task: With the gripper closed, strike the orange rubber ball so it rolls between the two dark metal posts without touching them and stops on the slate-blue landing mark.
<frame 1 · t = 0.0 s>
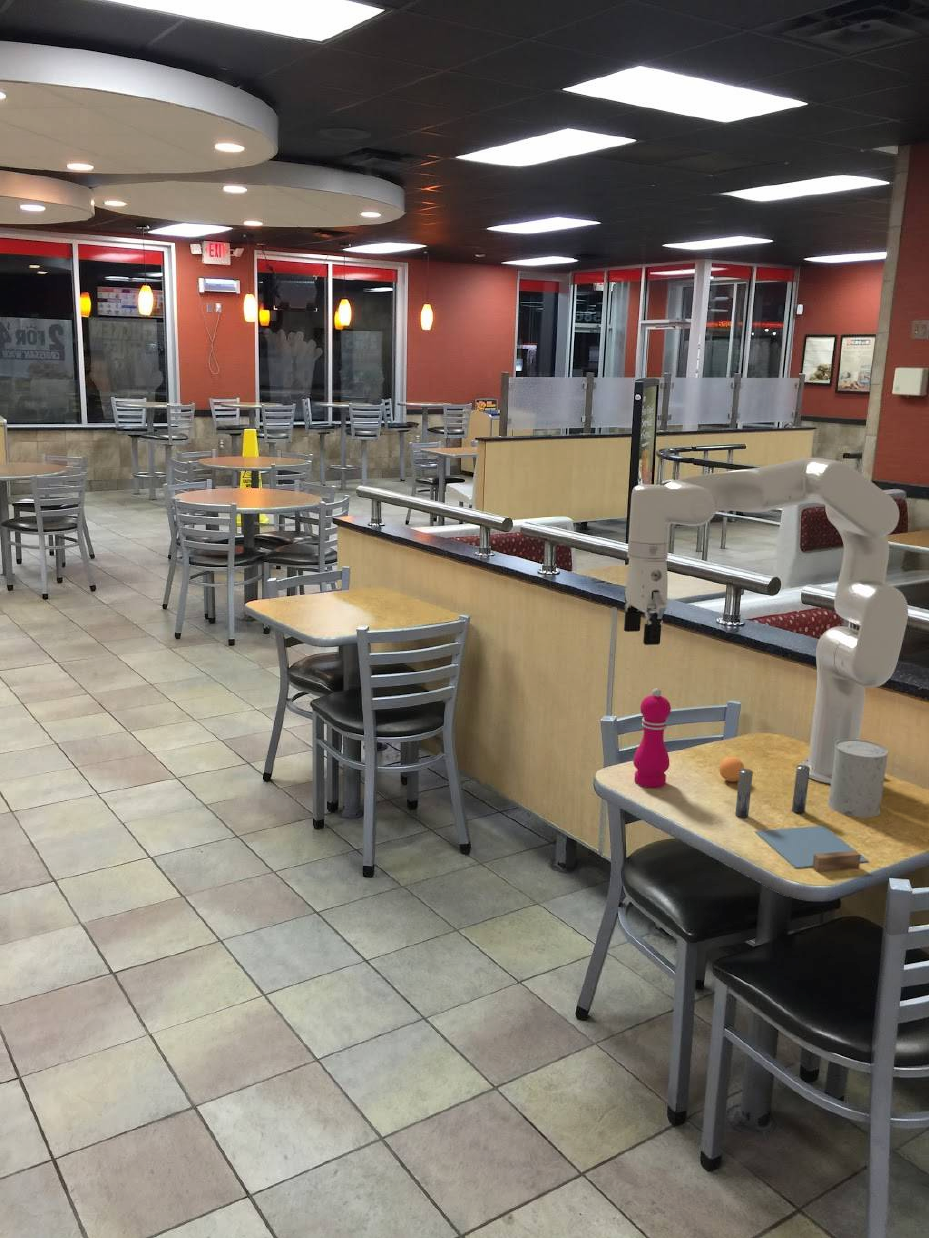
hand: (641, 637, 196), 31 cm above the table, tool pointing down, fingers open, 9 cm apart
ball: (731, 769, 208), on the table
pepper mill: (649, 782, 207), on the table
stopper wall: (835, 867, 173), on the table
speckled stone cylinder: (853, 808, 198), on the table
post 2: (798, 811, 195), on the table
landing mark: (810, 846, 181), on the table
post 1: (741, 815, 192), on the table
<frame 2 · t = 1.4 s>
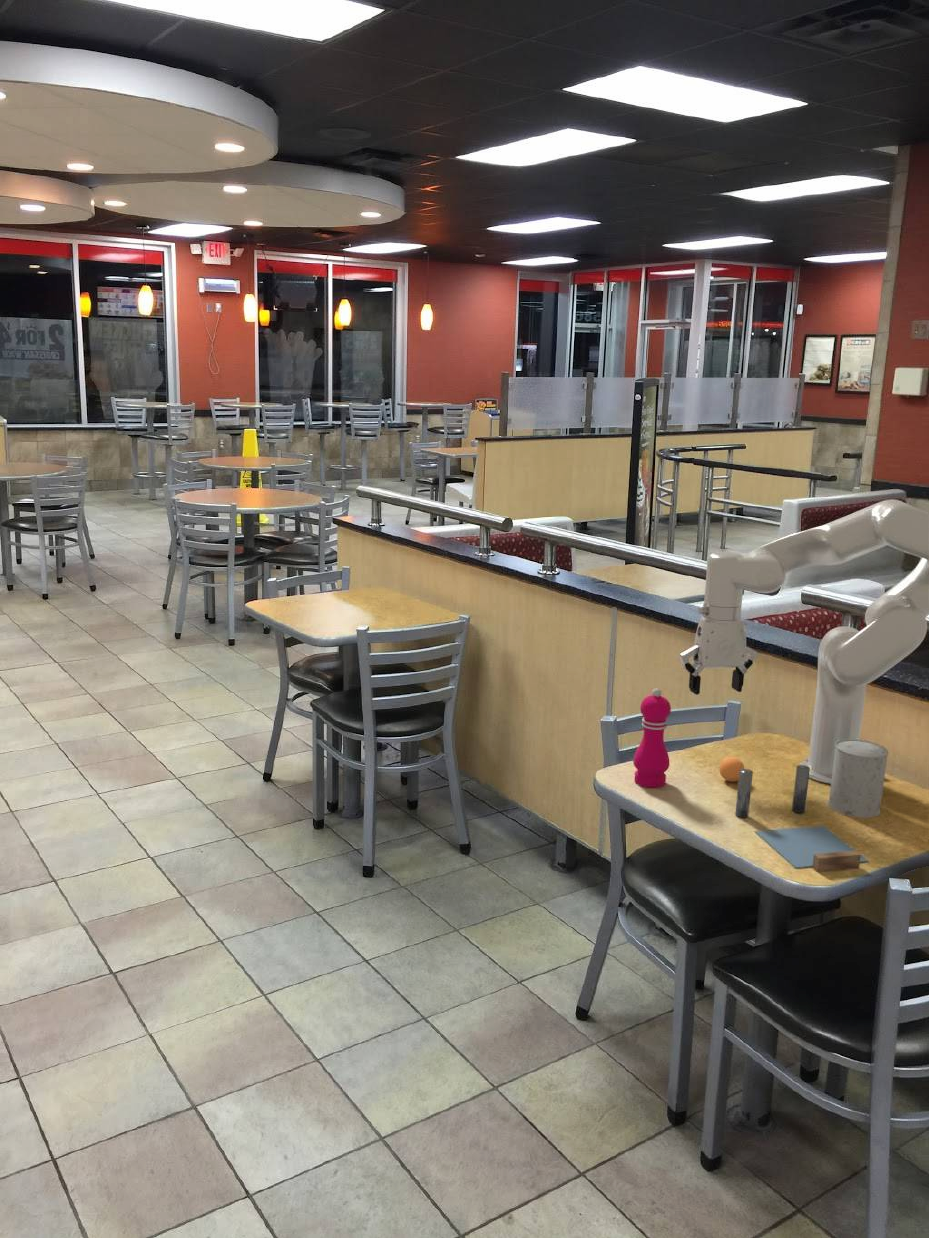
hand: (715, 691, 214), 16 cm above the table, tool pointing down, fingers open, 9 cm apart
nothing on the table moved.
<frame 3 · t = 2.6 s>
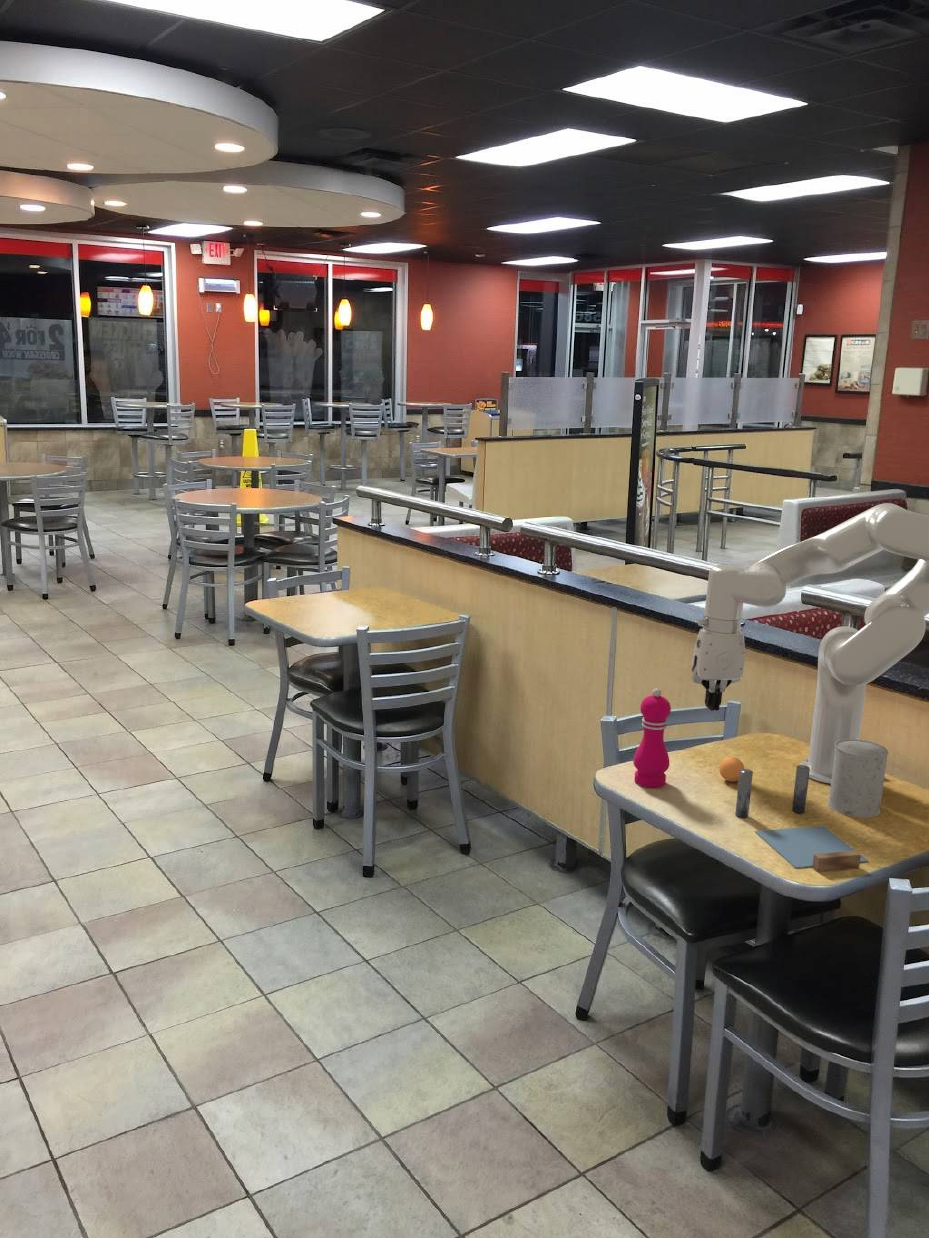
hand: (712, 708, 215), 12 cm above the table, tool pointing down, fingers closed
nothing on the table moved.
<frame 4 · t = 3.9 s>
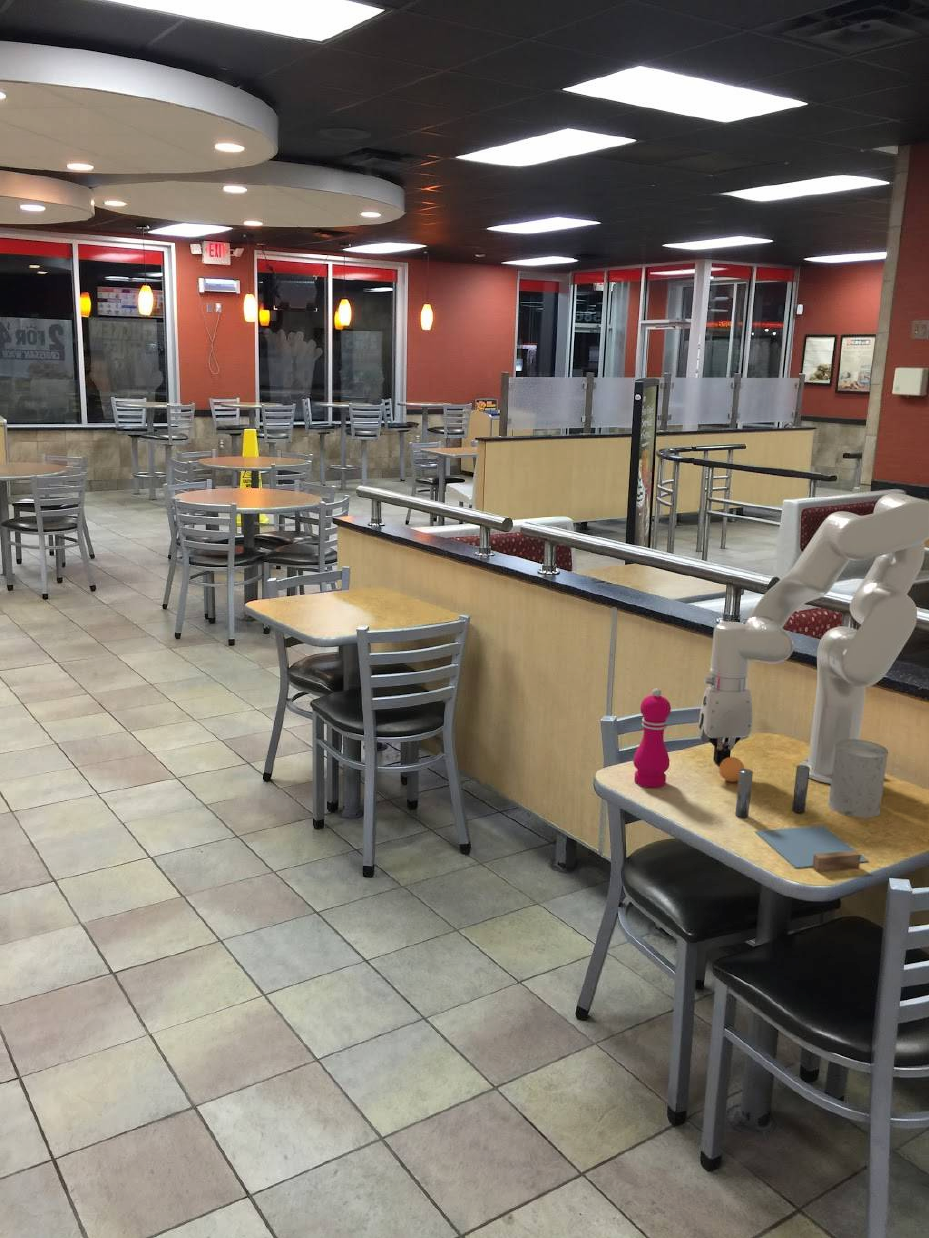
hand: (721, 765, 213), 1 cm above the table, tool pointing down, fingers closed
nothing on the table moved.
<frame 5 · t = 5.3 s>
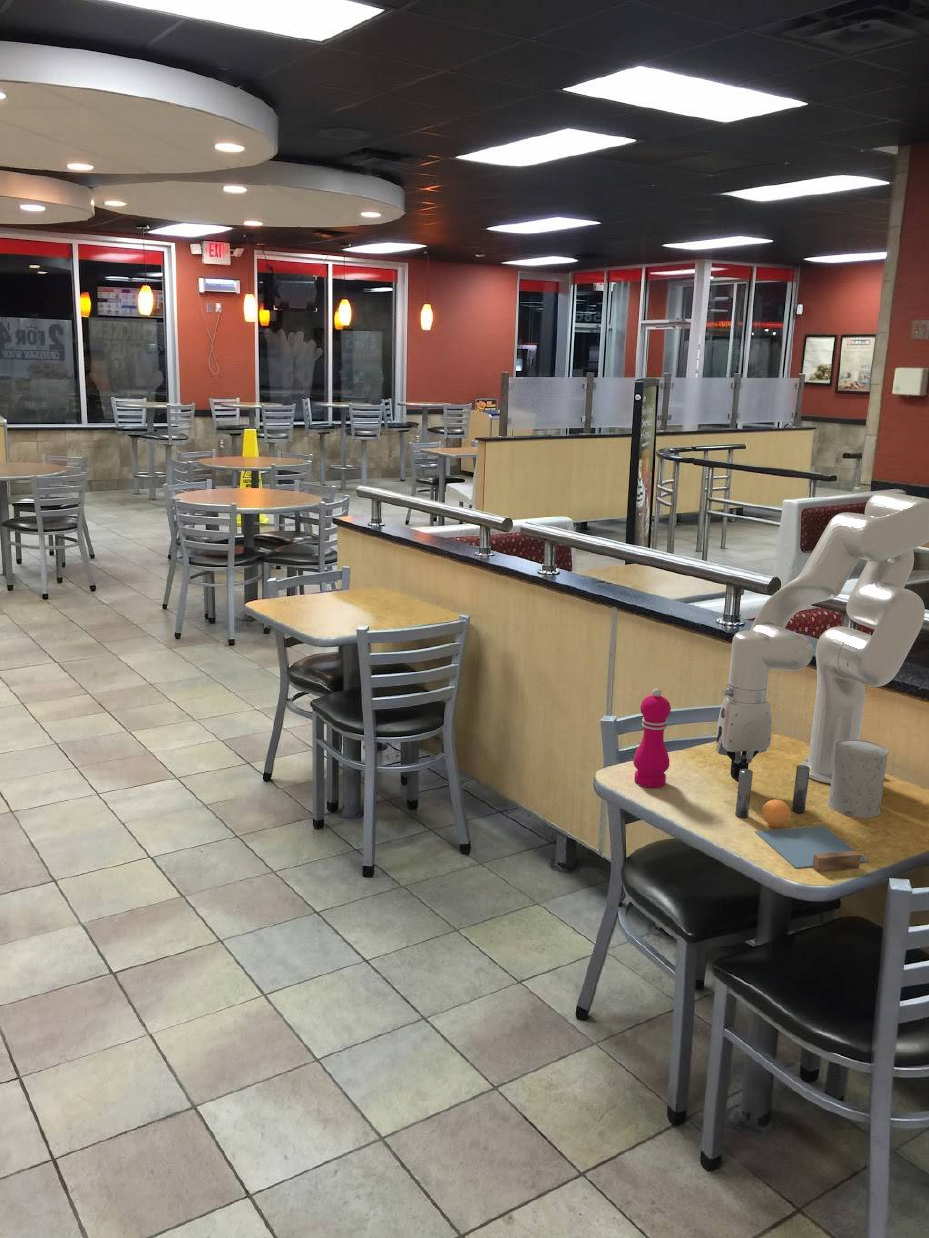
hand: (738, 779, 206), 2 cm above the table, tool pointing down, fingers closed
ball: (776, 813, 188), on the table
everything else where it was.
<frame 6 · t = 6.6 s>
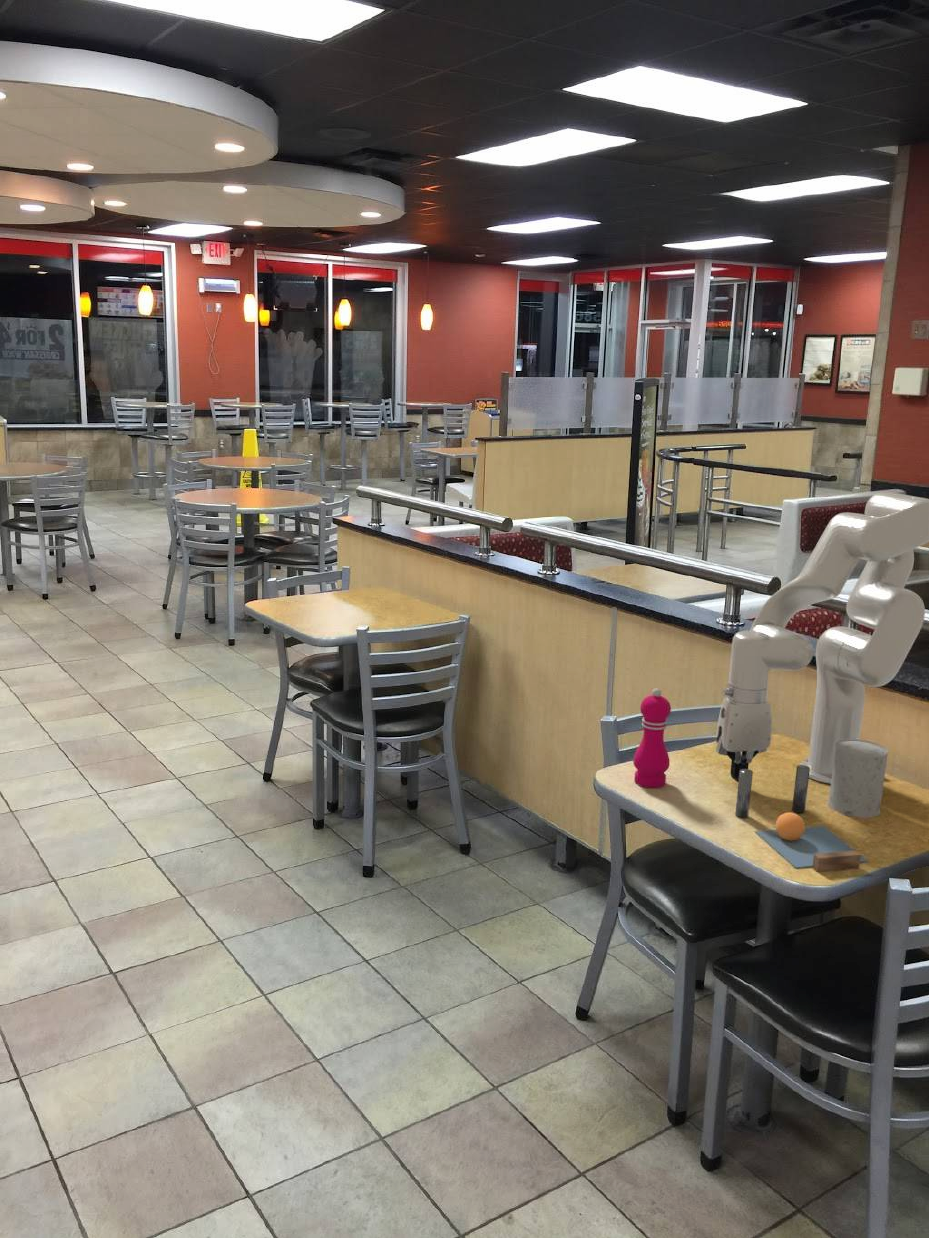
hand: (738, 779, 206), 2 cm above the table, tool pointing down, fingers closed
ball: (790, 826, 182), on the table
everything else where it was.
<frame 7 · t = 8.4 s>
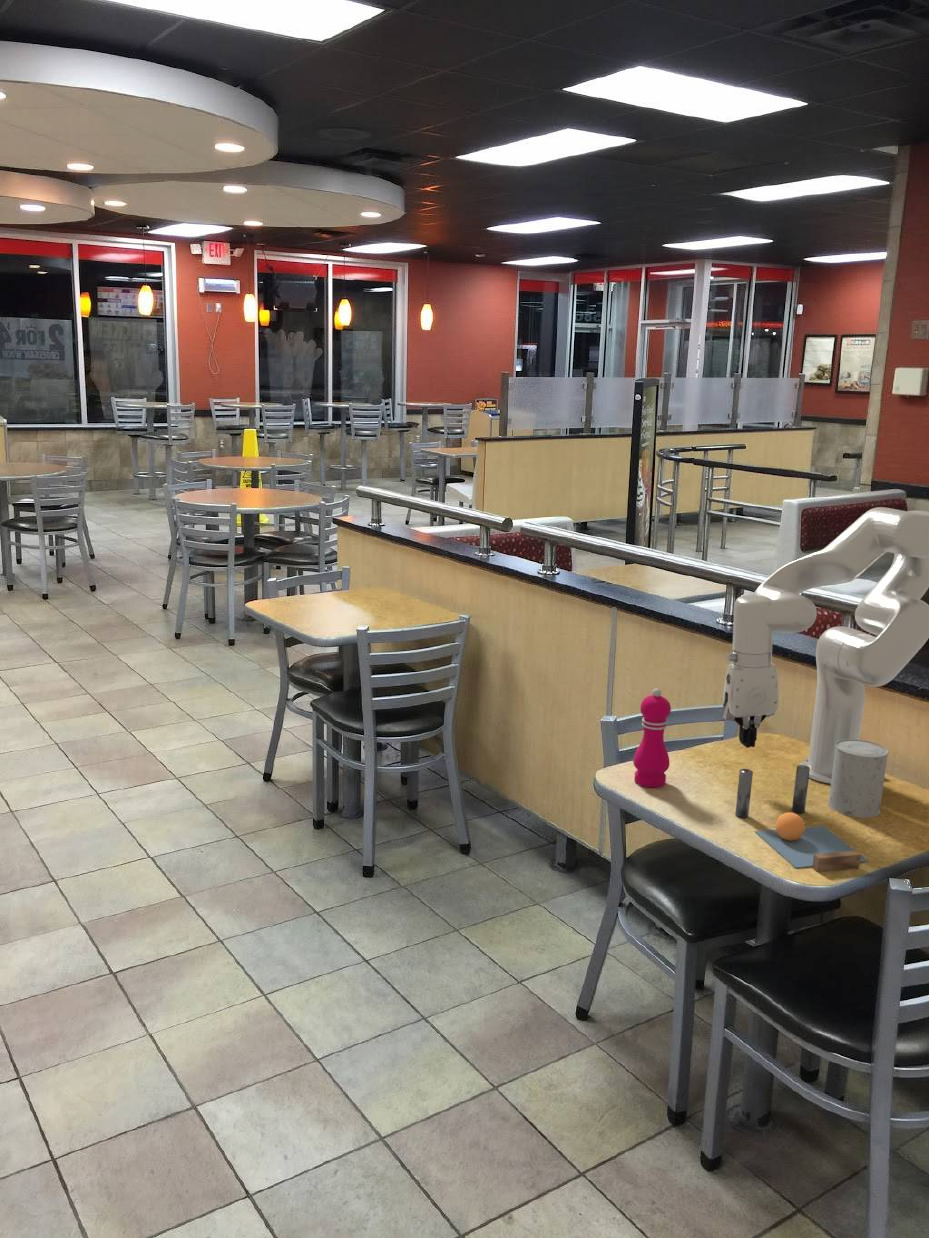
hand: (747, 744, 204), 9 cm above the table, tool pointing down, fingers closed
nothing on the table moved.
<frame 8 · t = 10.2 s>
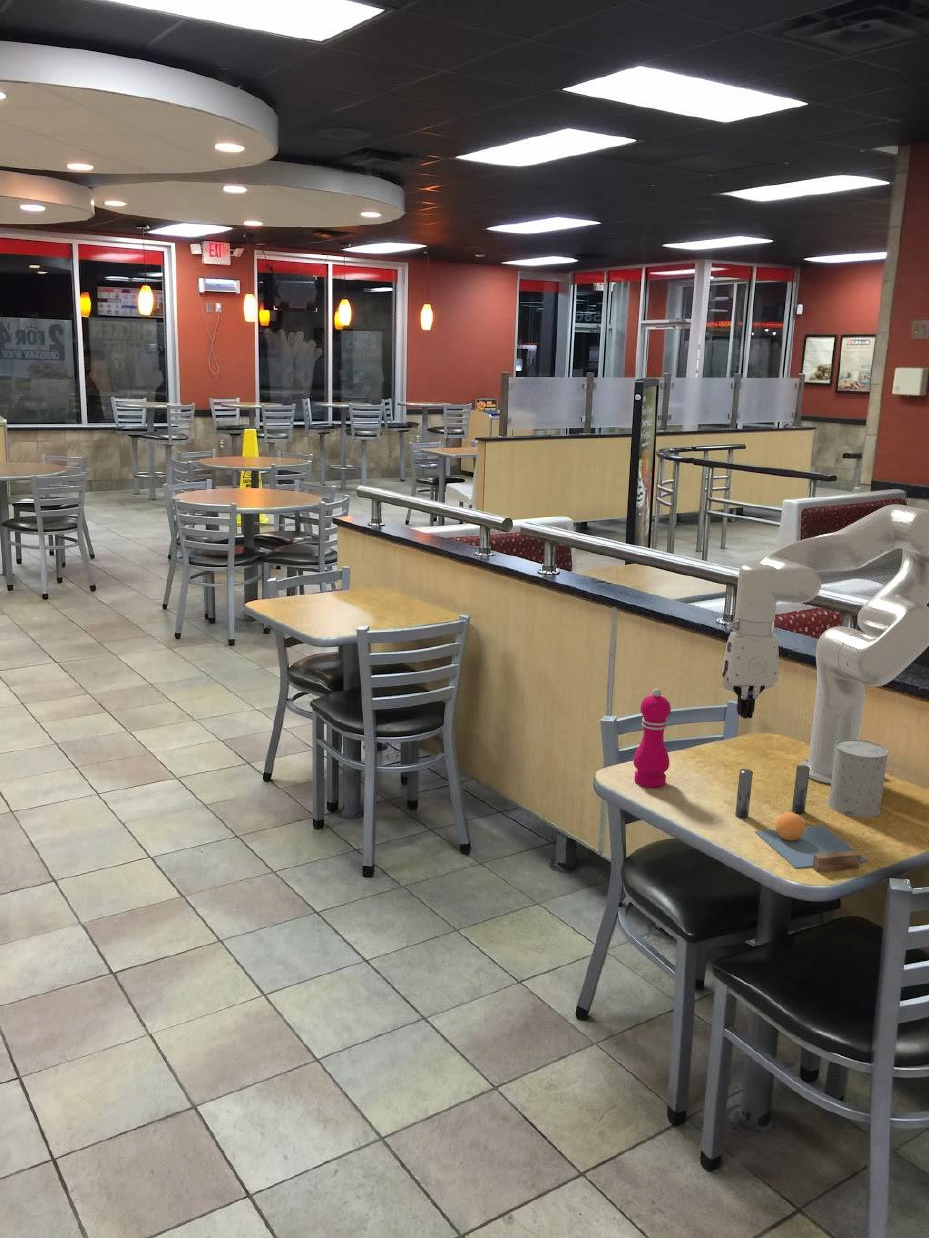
hand: (744, 716, 202), 15 cm above the table, tool pointing down, fingers closed
nothing on the table moved.
at the end: ball 4.0 cm from the landing mark (horizontally); ball never touched post 2; ball never touched post 1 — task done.
